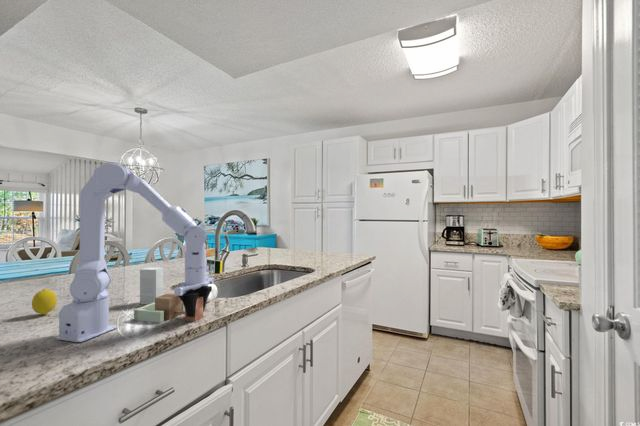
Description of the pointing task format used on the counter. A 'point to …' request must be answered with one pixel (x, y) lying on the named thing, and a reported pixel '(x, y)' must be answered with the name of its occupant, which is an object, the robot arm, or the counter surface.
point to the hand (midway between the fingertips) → (195, 314)
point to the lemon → (44, 301)
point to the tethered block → (177, 307)
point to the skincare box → (150, 284)
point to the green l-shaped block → (150, 313)
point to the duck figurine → (212, 292)
